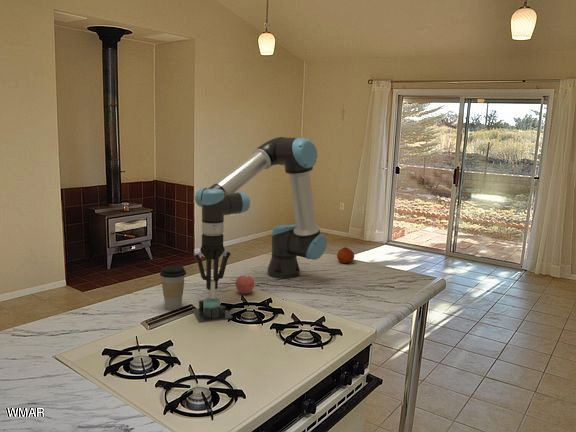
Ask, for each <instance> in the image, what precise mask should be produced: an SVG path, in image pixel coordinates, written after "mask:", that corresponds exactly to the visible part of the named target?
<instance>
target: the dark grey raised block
mask: <svg viewBox="0 0 576 432" xmlns="http://www.w3.org/2000/svg"><path fill="white" fill-rule="evenodd" d="M203 300H204V299H202V300H199V301H198V307H197V308H192V309H191V311H192V312H193V315H194V317H195V319H196V320H197V322H198V324H201V323H208V322H216V321H224V320H225V321H226V320H232V318H233V315H232V314H231V313H230V311H228V309H227V310H225V308H226V305H224V306H223V305H220V307H218V308H204V314H203Z"/></svg>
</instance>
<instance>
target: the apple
mask: <svg viewBox="0 0 576 432" xmlns="http://www.w3.org/2000/svg"><path fill="white" fill-rule="evenodd" d="M235 288H236V289H237V291H238V292H239V293H240V294H244V295H246V294H249V293H251V292H252V291H253V290H254V288H255V280H254V278H253V277H251V276H250V275H247V274H245V275H241V276H238V277H237V279H236V281H235Z"/></svg>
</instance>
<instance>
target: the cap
mask: <svg viewBox="0 0 576 432" xmlns="http://www.w3.org/2000/svg"><path fill="white" fill-rule="evenodd" d="M202 300H203V314H204V308H218V307H220V306H221V298H219V297H216V296H215V299H210V297H209V296H208V297H205V298H204V299H202Z"/></svg>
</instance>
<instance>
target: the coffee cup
mask: <svg viewBox="0 0 576 432" xmlns="http://www.w3.org/2000/svg"><path fill="white" fill-rule="evenodd" d="M186 274H187V271H186V269H185V267H184V266H182V265H166V266H163V267H162V268H161V270H160V273H159V275H160V276H161V286H162V294H163V298H164V306H165V307H164V308H165V310H168V311H176V310H175V309H177V310H179V309H178V308H180V309H181V308H182V301H183V295H184V286H185V275H186Z"/></svg>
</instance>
